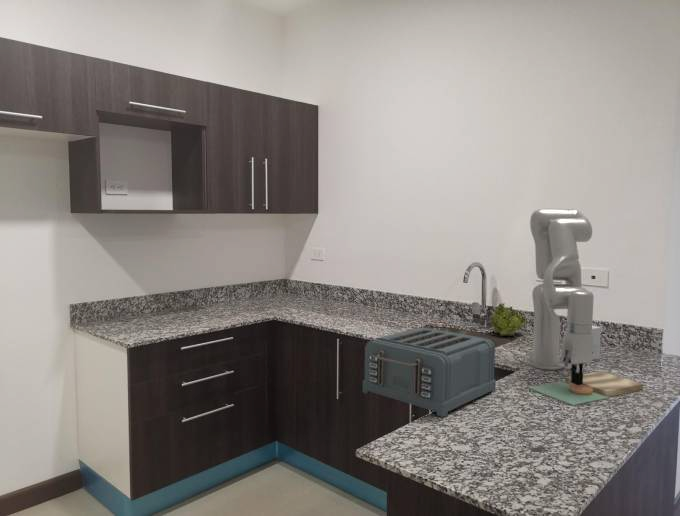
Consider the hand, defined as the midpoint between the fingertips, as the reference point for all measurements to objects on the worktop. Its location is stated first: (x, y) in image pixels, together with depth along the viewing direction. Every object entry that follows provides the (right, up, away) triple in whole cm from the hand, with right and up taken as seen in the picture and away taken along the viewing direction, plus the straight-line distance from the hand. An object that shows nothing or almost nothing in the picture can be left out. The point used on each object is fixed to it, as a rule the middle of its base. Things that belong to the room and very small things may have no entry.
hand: (576, 383), depth 178 cm
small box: (+23, 0, +44) cm, 49 cm away
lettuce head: (+2, +3, +81) cm, 81 cm away
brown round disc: (+1, -2, -1) cm, 3 cm away
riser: (+12, -2, +6) cm, 13 cm away
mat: (-4, -3, -2) cm, 5 cm away
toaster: (-50, -3, -2) cm, 50 cm away
